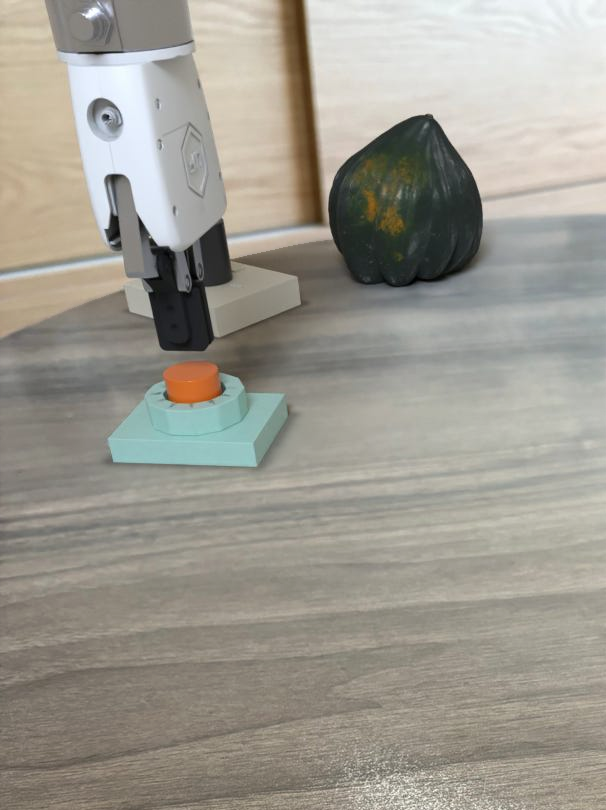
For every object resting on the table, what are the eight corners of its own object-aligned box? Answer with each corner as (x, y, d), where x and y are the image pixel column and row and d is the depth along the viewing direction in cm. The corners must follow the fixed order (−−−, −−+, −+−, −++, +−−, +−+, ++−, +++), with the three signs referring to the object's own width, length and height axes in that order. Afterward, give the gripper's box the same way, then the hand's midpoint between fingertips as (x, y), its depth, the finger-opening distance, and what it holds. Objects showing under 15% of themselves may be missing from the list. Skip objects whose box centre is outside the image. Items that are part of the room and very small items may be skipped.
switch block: (114, 468, 70) (100, 413, 67) (157, 418, 76) (145, 366, 74) (258, 473, 69) (248, 417, 66) (289, 421, 75) (281, 369, 73)
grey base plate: (130, 316, 94) (122, 281, 92) (213, 286, 100) (207, 253, 98) (219, 343, 88) (213, 306, 86) (301, 309, 94) (297, 274, 92)
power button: (160, 405, 69) (155, 380, 68) (179, 384, 72) (174, 359, 71) (212, 407, 68) (207, 382, 67) (229, 385, 71) (224, 361, 70)
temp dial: (226, 286, 91) (216, 223, 87) (182, 286, 91) (169, 224, 88) (237, 272, 94) (227, 211, 91) (194, 272, 94) (183, 211, 91)
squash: (275, 229, 96) (361, 99, 87) (351, 197, 107) (435, 79, 98) (382, 342, 98) (478, 227, 88) (446, 299, 109) (537, 193, 100)
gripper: (136, 42, 51) (206, 393, 62) (228, 9, 63) (273, 308, 74) (-8, 45, 52) (87, 391, 63) (111, 12, 63) (173, 307, 74)
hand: (188, 346), depth 68 cm, fingers closed
